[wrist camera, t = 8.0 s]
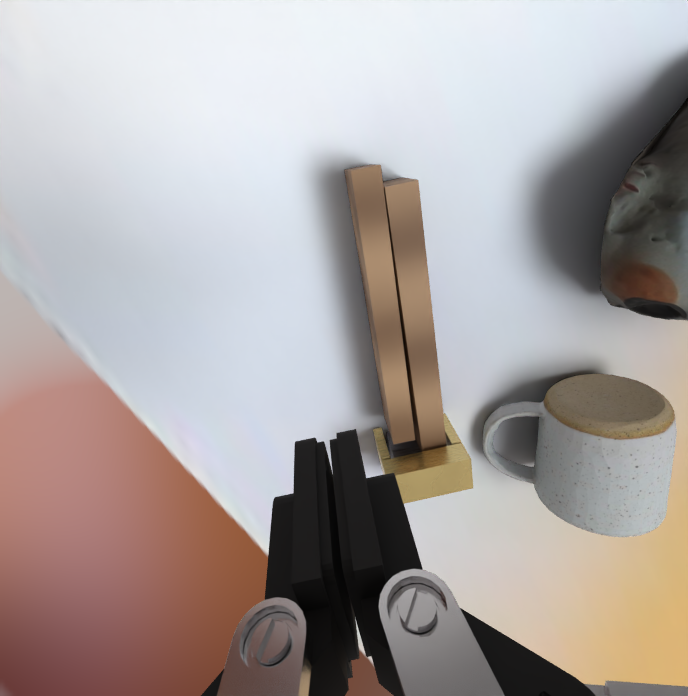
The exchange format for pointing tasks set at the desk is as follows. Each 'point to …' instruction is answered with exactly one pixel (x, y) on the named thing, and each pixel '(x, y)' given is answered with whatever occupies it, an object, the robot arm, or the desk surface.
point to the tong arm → (381, 296)
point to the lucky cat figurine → (651, 229)
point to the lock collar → (428, 467)
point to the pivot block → (402, 447)
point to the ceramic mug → (597, 453)
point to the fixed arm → (415, 310)
